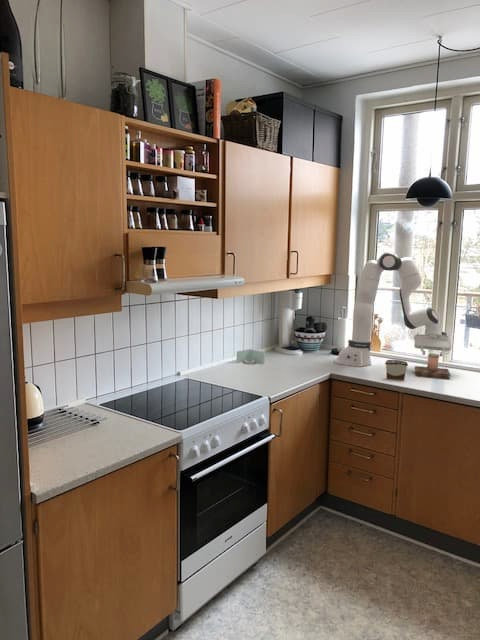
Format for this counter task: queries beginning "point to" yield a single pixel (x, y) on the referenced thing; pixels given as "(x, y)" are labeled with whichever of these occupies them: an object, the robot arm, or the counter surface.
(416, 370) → the walnut stand
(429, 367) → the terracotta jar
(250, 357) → the l-shaped corner panel
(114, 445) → the counter surface
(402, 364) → the food container
